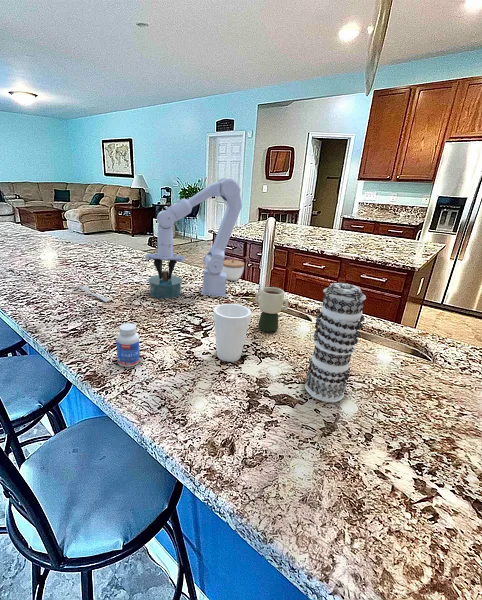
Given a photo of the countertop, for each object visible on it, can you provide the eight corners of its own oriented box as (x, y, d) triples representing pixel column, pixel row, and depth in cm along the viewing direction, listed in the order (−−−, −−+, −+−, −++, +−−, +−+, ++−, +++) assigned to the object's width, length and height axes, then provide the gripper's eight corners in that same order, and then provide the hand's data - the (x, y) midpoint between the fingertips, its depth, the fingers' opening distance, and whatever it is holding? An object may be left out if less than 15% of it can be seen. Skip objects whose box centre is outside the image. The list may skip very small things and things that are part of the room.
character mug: (288, 330, 102) (294, 291, 97) (279, 338, 96) (284, 298, 91) (257, 320, 107) (261, 283, 103) (247, 327, 102) (251, 289, 97)
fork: (105, 309, 116) (105, 302, 115) (72, 289, 127) (72, 283, 126) (112, 306, 119) (112, 300, 117) (79, 288, 129) (78, 281, 128)
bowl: (183, 290, 133) (183, 277, 131) (178, 300, 121) (178, 286, 119) (153, 288, 133) (153, 275, 131) (146, 298, 122) (145, 284, 120)
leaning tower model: (341, 409, 67) (368, 298, 58) (298, 393, 72) (317, 287, 63) (349, 387, 75) (374, 285, 66) (309, 374, 79) (327, 276, 70)
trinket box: (241, 283, 145) (243, 262, 142) (218, 280, 147) (219, 260, 143) (244, 276, 155) (245, 257, 151) (222, 274, 157) (223, 255, 153)
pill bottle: (120, 369, 77) (118, 333, 74) (115, 358, 82) (113, 323, 78) (142, 364, 80) (141, 329, 76) (136, 354, 84) (135, 320, 80)
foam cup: (249, 350, 88) (254, 307, 84) (242, 368, 80) (246, 320, 75) (217, 344, 91) (219, 301, 86) (206, 360, 83) (208, 314, 78)
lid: (184, 278, 131) (184, 267, 130) (179, 289, 119) (179, 277, 117) (152, 276, 132) (152, 265, 130) (144, 286, 120) (144, 274, 118)
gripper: (143, 244, 117) (144, 280, 122) (182, 247, 116) (182, 283, 121) (148, 241, 123) (149, 275, 128) (185, 243, 122) (185, 277, 127)
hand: (165, 278), depth 125 cm, fingers open, 3 cm apart
